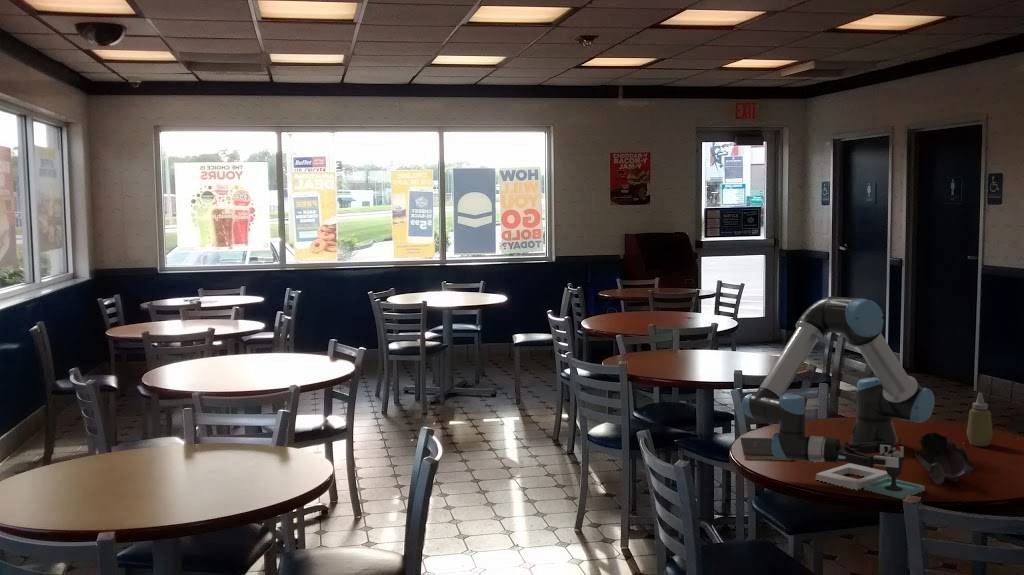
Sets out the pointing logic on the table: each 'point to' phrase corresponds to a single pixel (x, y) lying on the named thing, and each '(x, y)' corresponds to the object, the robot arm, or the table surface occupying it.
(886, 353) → the robot arm
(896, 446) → the sundae
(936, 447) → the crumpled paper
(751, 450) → the hardcover book
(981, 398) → the squeeze bottle
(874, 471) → the board
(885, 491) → the tray
